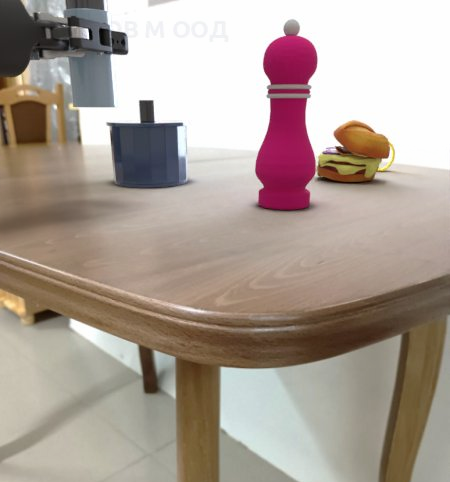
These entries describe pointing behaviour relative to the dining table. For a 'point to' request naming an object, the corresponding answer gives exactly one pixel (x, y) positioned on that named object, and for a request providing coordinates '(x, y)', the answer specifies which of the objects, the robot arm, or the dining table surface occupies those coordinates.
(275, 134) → the pepper mill
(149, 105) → the pot lid
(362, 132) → the cheeseburger
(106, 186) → the dining table surface
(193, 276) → the dining table surface
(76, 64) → the shaker
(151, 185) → the pot
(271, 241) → the dining table surface
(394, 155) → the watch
